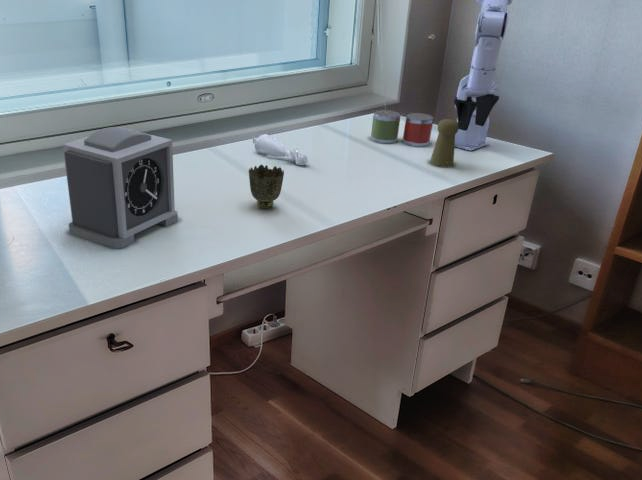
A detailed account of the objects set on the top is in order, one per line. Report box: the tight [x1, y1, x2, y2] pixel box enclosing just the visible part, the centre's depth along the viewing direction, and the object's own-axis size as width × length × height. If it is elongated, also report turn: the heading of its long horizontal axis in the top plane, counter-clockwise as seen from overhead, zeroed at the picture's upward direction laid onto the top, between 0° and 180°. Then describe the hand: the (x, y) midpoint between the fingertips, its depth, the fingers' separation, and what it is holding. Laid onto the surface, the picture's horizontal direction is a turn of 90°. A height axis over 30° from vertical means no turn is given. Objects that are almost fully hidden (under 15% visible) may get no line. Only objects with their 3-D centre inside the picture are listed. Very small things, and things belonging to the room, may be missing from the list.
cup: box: [248, 164, 285, 210], centre depth 145 cm, size 8×7×8 cm
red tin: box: [402, 112, 434, 148], centre depth 191 cm, size 8×8×7 cm
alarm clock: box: [62, 126, 179, 250], centre depth 130 cm, size 18×13×18 cm
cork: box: [429, 118, 458, 168], centre depth 175 cm, size 6×6×11 cm
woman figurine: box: [252, 133, 309, 166], centre depth 175 cm, size 12×4×18 cm
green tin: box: [370, 109, 401, 144], centre depth 192 cm, size 8×8×7 cm
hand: (471, 127), depth 168 cm, fingers open, 7 cm apart
